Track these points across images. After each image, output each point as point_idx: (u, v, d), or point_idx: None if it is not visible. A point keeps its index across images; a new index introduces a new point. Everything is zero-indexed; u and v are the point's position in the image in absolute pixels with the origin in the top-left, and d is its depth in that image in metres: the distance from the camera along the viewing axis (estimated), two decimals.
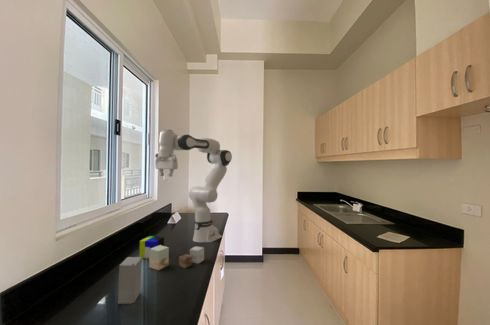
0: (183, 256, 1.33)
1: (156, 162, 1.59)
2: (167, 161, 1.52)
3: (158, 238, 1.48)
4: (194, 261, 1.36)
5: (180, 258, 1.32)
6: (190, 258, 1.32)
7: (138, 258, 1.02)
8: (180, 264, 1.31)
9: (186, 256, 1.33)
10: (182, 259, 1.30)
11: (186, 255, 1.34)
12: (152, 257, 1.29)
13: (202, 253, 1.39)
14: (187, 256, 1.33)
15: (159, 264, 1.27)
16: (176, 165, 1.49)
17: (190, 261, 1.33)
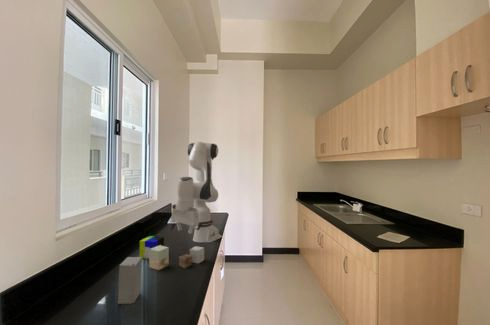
0: (183, 256, 1.33)
1: (173, 214, 1.37)
2: (186, 216, 1.30)
3: (158, 238, 1.48)
4: (194, 261, 1.36)
5: (180, 258, 1.32)
6: (190, 258, 1.32)
7: (138, 258, 1.02)
8: (180, 264, 1.31)
9: (186, 256, 1.33)
10: (182, 259, 1.30)
11: (186, 255, 1.34)
12: (152, 257, 1.29)
13: (202, 253, 1.39)
14: (187, 256, 1.33)
15: (160, 264, 1.27)
16: (197, 221, 1.27)
17: (190, 261, 1.33)
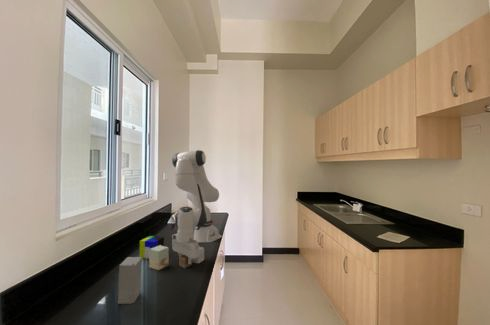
0: (183, 256, 1.33)
1: (173, 243, 1.37)
2: (186, 247, 1.30)
3: (158, 238, 1.48)
4: (194, 261, 1.36)
5: (180, 258, 1.32)
6: None
7: (138, 258, 1.02)
8: (180, 264, 1.31)
9: (186, 256, 1.33)
10: (182, 259, 1.30)
11: None
12: (152, 257, 1.29)
13: (202, 253, 1.39)
14: (187, 256, 1.33)
15: (159, 264, 1.27)
16: (198, 253, 1.27)
17: (191, 261, 1.33)
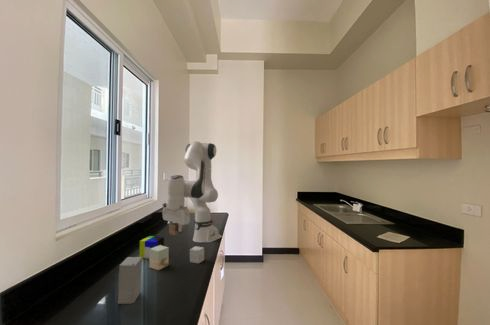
0: (173, 224, 1.32)
1: (163, 212, 1.36)
2: (177, 214, 1.29)
3: (158, 238, 1.48)
4: (194, 261, 1.36)
5: (170, 225, 1.31)
6: None
7: (138, 258, 1.02)
8: (170, 231, 1.31)
9: (176, 224, 1.32)
10: (172, 226, 1.30)
11: (176, 223, 1.34)
12: (152, 257, 1.29)
13: (202, 253, 1.39)
14: (177, 224, 1.32)
15: (159, 264, 1.27)
16: (188, 219, 1.27)
17: None
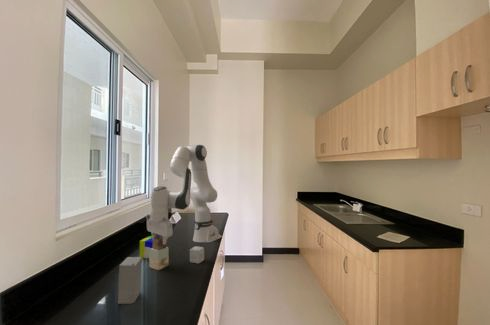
0: (157, 238, 1.31)
1: (148, 224, 1.35)
2: (160, 226, 1.29)
3: None
4: (194, 261, 1.36)
5: (153, 240, 1.30)
6: None
7: (138, 258, 1.02)
8: (153, 246, 1.30)
9: (160, 238, 1.31)
10: (155, 241, 1.29)
11: (160, 238, 1.33)
12: (152, 257, 1.29)
13: (202, 253, 1.39)
14: (161, 238, 1.31)
15: (159, 264, 1.27)
16: (171, 232, 1.26)
17: (164, 244, 1.31)
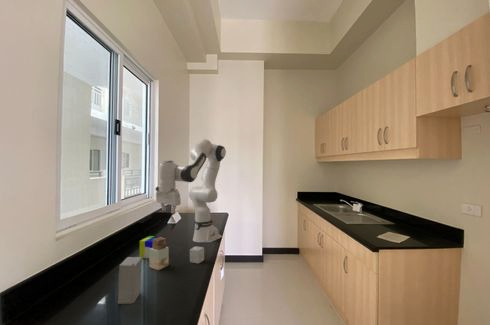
0: (157, 238, 1.31)
1: (157, 195, 1.46)
2: (168, 196, 1.39)
3: None
4: (194, 261, 1.36)
5: (153, 240, 1.30)
6: (164, 240, 1.31)
7: (138, 258, 1.02)
8: (153, 246, 1.30)
9: (160, 238, 1.31)
10: (155, 241, 1.29)
11: (160, 238, 1.33)
12: (152, 257, 1.29)
13: (202, 253, 1.39)
14: (161, 238, 1.31)
15: (159, 264, 1.27)
16: (179, 201, 1.37)
17: (164, 244, 1.31)
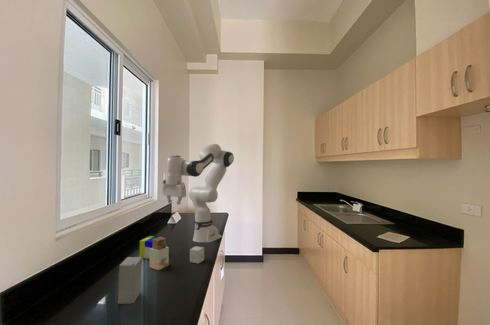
0: (157, 238, 1.31)
1: (163, 188, 1.54)
2: (175, 189, 1.47)
3: None
4: (194, 261, 1.36)
5: (153, 240, 1.30)
6: (164, 240, 1.31)
7: (138, 258, 1.02)
8: (153, 246, 1.30)
9: (160, 238, 1.31)
10: (155, 241, 1.29)
11: (160, 238, 1.33)
12: (152, 257, 1.29)
13: (202, 253, 1.39)
14: (161, 238, 1.31)
15: (160, 264, 1.27)
16: (185, 193, 1.45)
17: (164, 244, 1.31)
